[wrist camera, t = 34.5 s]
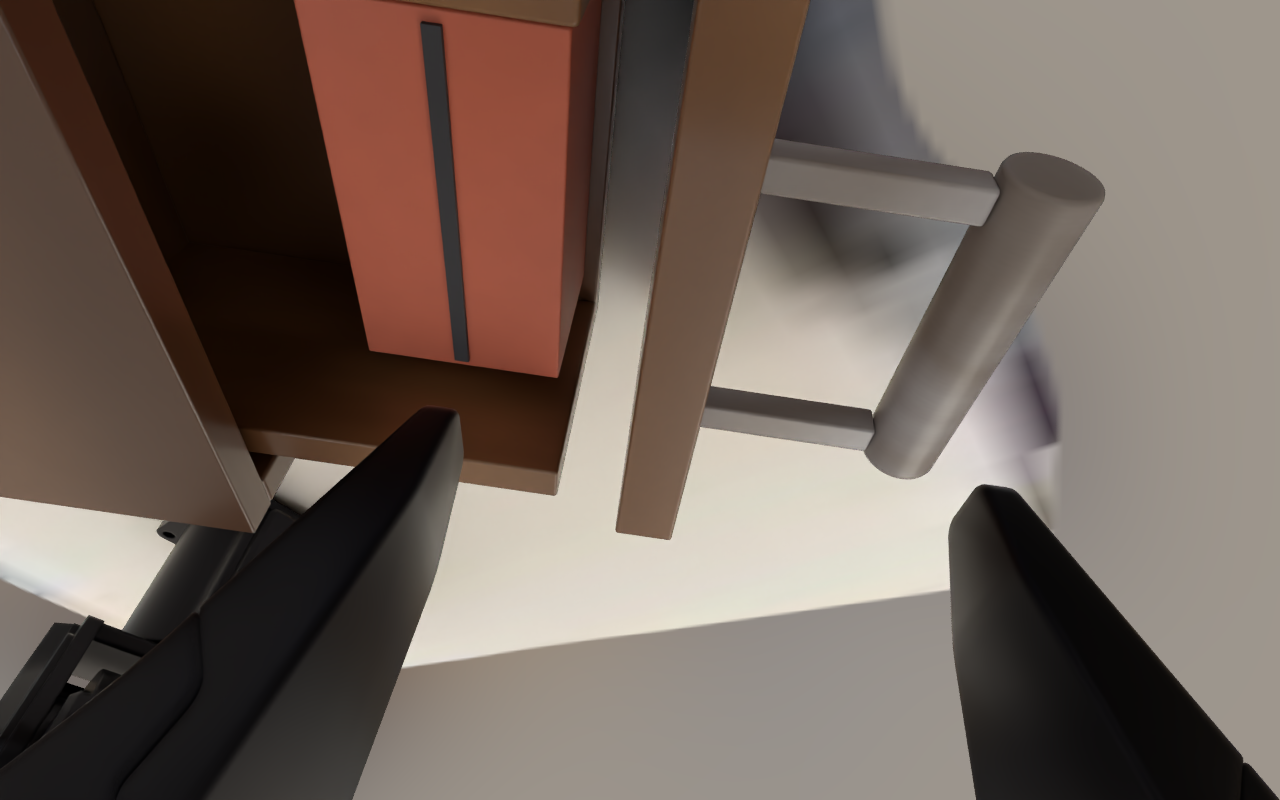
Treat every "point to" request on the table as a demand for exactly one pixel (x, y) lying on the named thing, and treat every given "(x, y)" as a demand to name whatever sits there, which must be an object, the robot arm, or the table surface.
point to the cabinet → (99, 318)
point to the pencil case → (458, 173)
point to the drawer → (683, 266)
